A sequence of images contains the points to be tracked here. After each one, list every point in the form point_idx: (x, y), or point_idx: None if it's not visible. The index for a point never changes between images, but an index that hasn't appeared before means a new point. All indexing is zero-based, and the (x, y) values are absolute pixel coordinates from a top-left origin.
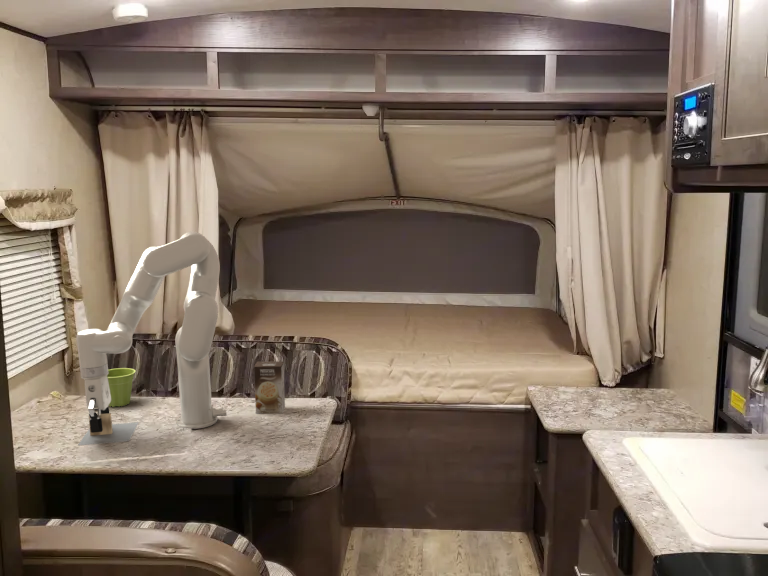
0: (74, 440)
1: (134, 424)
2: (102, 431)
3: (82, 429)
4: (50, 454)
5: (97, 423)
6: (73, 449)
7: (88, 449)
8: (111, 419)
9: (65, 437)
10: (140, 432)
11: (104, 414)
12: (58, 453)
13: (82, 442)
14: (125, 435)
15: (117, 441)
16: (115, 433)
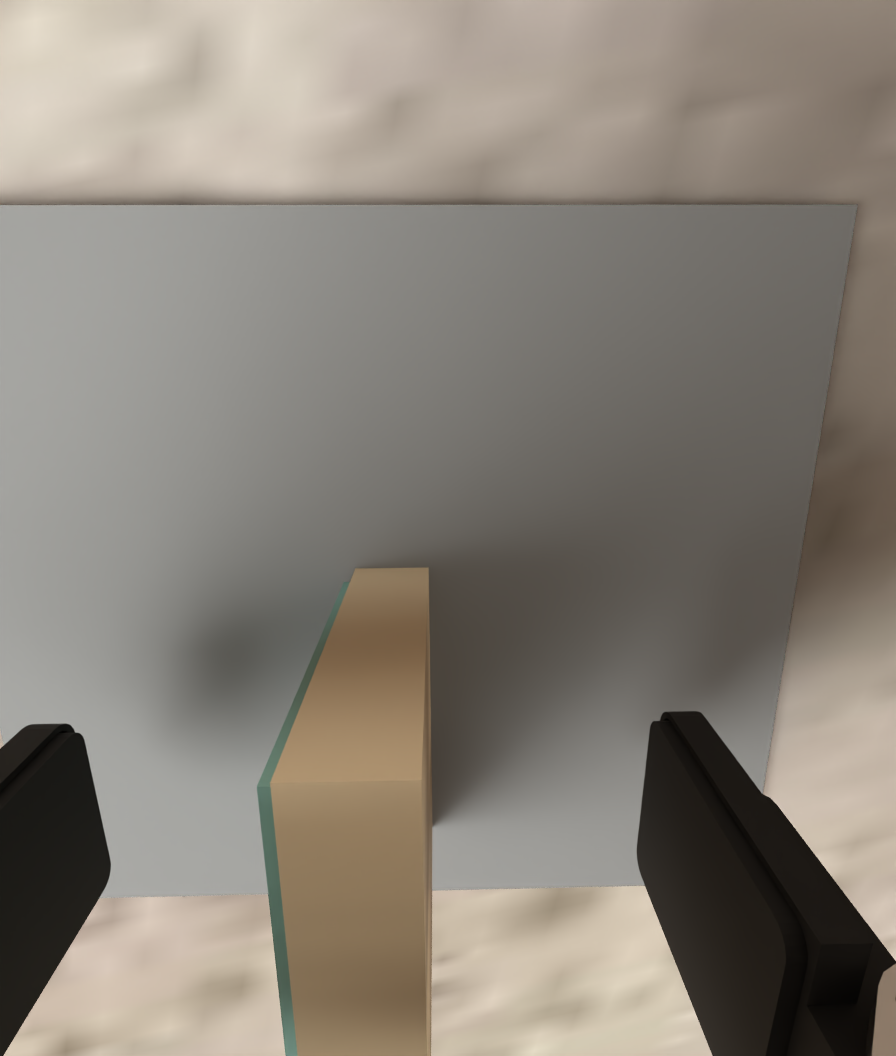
0: (487, 944)
1: (11, 266)
2: (429, 711)
3: (117, 953)
4: None
5: (850, 909)
6: None
7: (854, 735)
8: (315, 675)
9: None
10: (361, 95)
11: (359, 923)
12: None
13: None
14: (562, 324)
15: (799, 405)
16: (422, 512)
